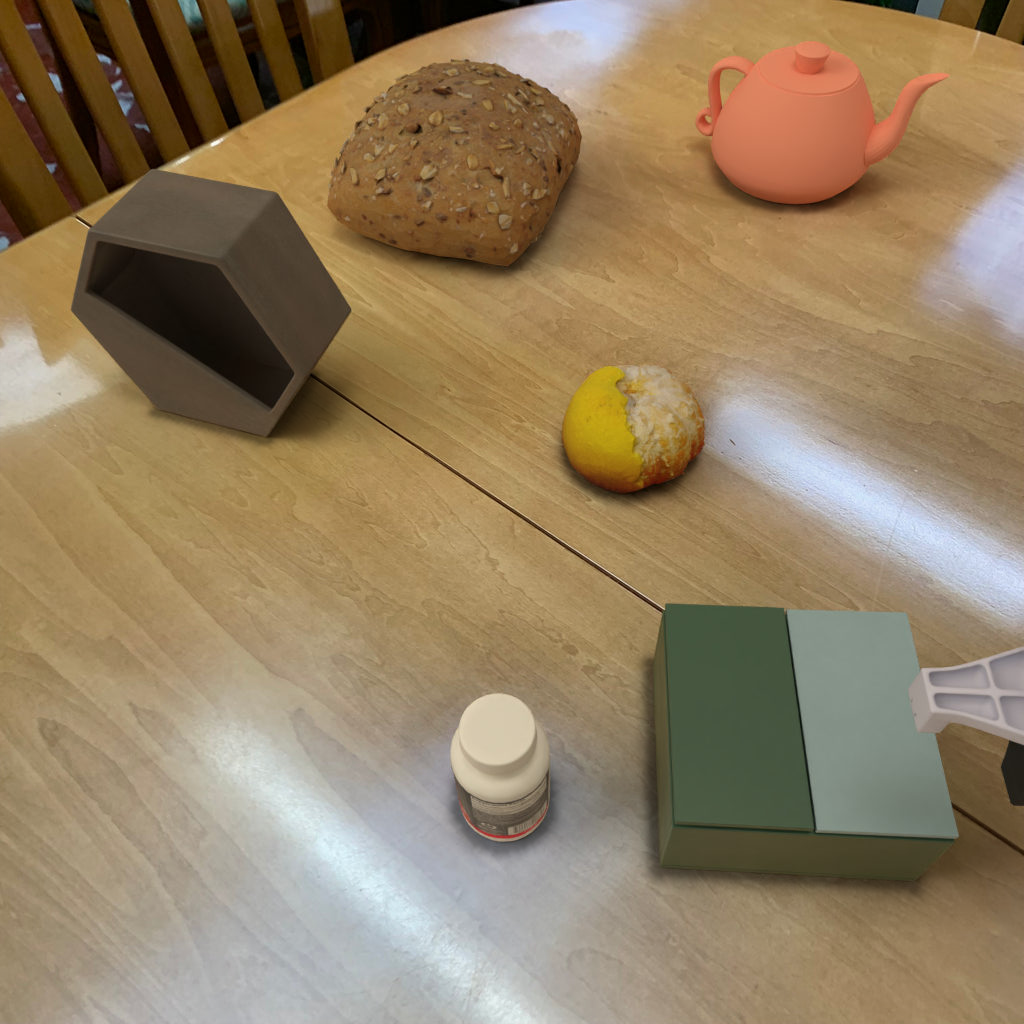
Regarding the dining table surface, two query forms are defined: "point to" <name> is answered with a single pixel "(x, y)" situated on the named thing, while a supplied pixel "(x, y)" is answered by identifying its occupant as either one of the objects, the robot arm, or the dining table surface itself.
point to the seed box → (747, 757)
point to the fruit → (632, 427)
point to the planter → (208, 298)
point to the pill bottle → (501, 767)
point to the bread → (456, 163)
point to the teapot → (801, 123)
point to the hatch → (865, 726)
